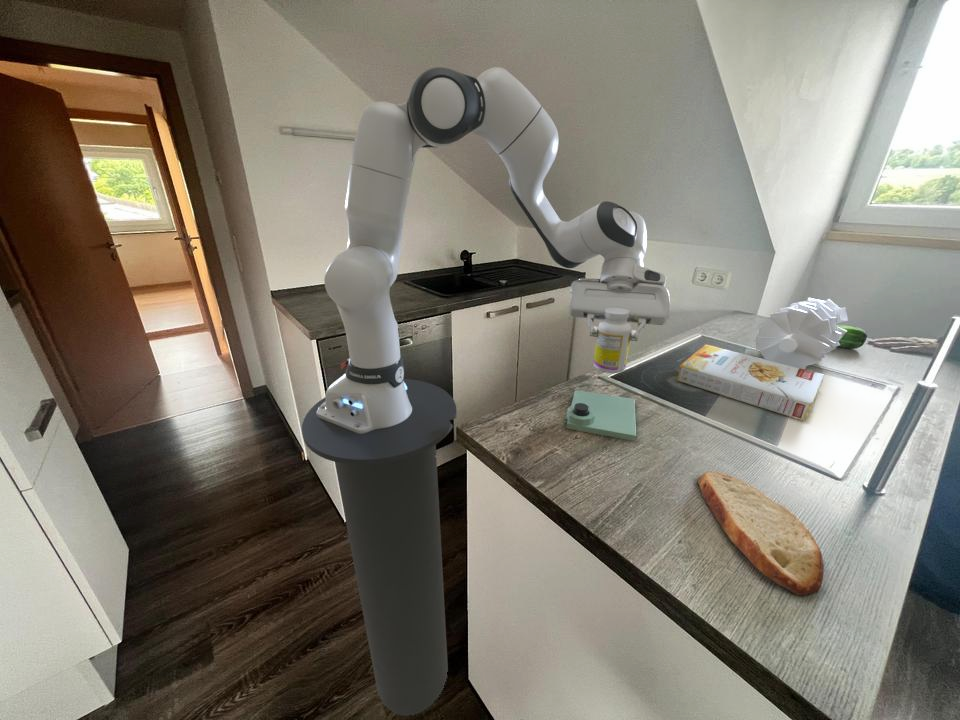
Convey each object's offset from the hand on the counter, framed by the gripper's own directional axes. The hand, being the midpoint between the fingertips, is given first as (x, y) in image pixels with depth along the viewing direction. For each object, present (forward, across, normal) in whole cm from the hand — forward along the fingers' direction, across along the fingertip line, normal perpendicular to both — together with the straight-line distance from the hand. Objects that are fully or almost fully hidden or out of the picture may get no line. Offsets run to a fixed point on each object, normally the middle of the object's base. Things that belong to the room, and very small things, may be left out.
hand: (613, 337), depth 80 cm
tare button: (+15, -4, +9) cm, 18 cm away
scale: (+13, 0, +14) cm, 19 cm away
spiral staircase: (-23, +53, +52) cm, 77 cm away
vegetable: (-37, +68, +66) cm, 102 cm away
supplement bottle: (+5, 0, +6) cm, 7 cm away
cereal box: (-6, +35, +34) cm, 49 cm away
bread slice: (+32, +23, -4) cm, 39 cm away
